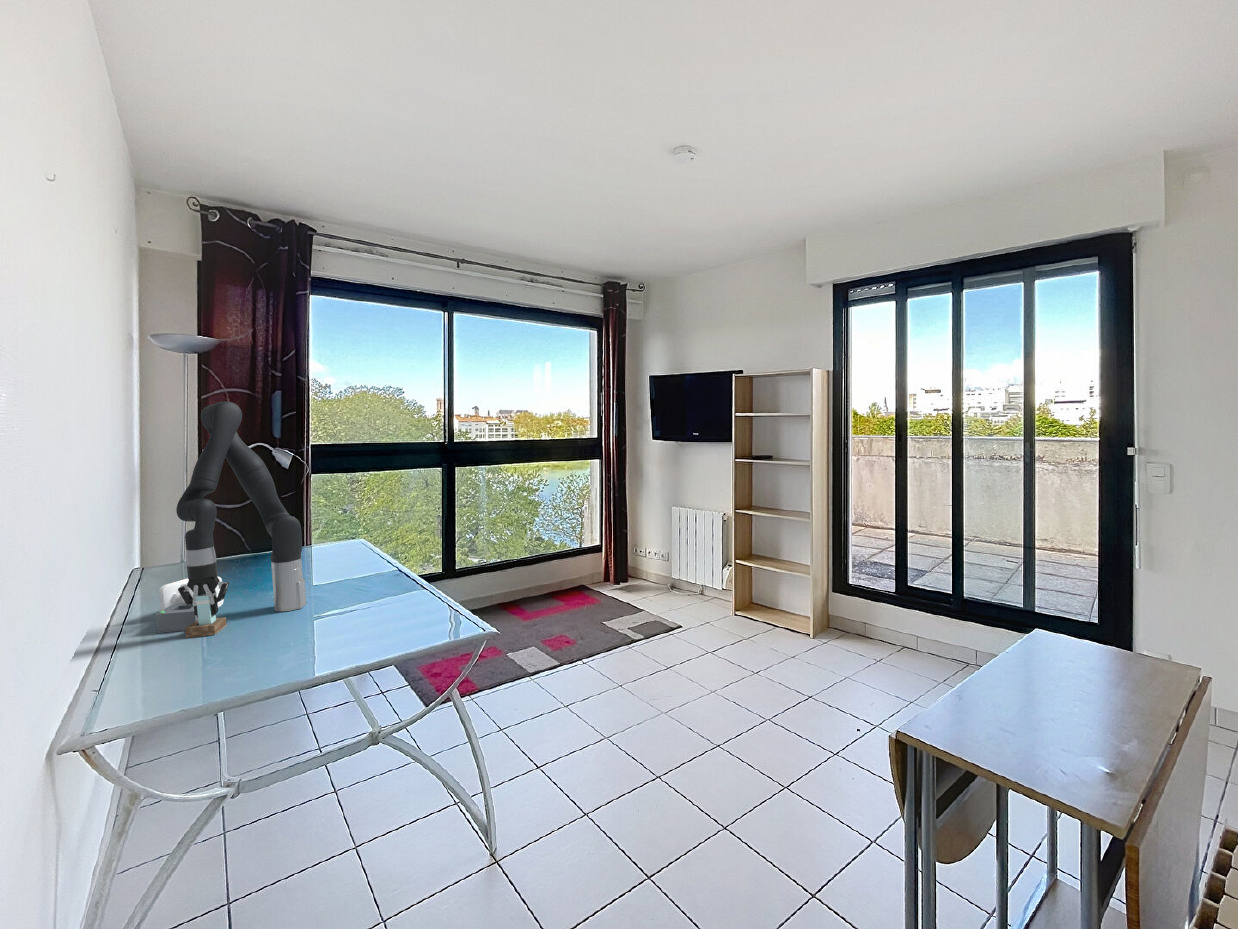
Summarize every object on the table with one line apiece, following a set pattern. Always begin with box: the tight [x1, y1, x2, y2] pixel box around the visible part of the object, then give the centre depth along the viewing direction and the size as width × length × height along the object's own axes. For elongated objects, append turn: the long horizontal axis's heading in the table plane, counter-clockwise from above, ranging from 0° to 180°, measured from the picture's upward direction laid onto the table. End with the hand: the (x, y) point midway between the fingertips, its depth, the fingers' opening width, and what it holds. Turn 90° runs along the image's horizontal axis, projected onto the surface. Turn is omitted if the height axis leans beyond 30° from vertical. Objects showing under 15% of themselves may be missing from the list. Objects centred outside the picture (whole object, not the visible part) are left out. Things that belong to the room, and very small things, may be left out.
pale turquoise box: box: [196, 594, 217, 625], centre depth 182 cm, size 4×4×10 cm
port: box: [154, 603, 198, 634], centre depth 189 cm, size 11×11×6 cm
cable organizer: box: [158, 576, 225, 612], centre depth 201 cm, size 15×11×12 cm
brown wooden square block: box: [184, 616, 227, 639], centre depth 182 cm, size 8×8×3 cm
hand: (206, 615), depth 182 cm, fingers closed on pale turquoise box, 3 cm apart
